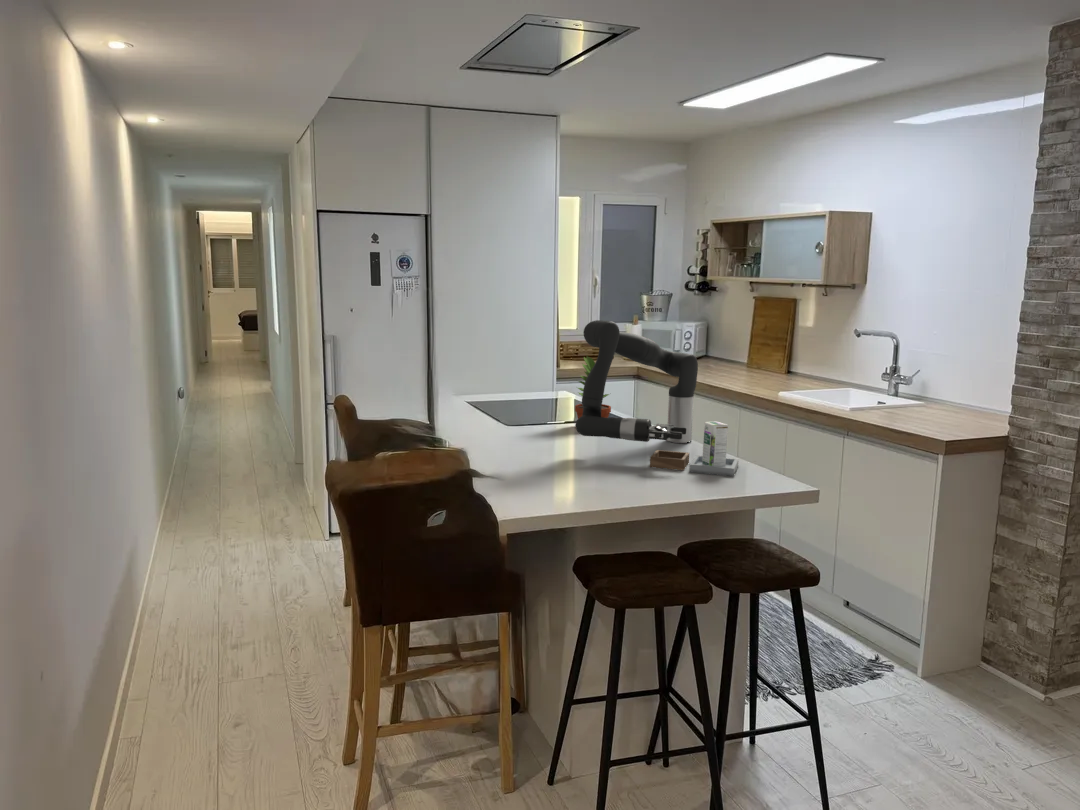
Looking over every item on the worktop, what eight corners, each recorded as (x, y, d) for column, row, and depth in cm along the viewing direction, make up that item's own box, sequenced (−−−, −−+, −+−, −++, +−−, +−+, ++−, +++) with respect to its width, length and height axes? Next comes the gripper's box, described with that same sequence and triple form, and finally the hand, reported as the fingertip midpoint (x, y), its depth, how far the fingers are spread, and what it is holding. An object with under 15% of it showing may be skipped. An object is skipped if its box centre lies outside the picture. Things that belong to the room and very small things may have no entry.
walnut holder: (656, 459, 276) (656, 449, 275) (688, 462, 272) (689, 452, 272) (649, 467, 266) (650, 456, 265) (683, 470, 262) (684, 459, 261)
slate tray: (695, 462, 273) (696, 455, 273) (738, 466, 269) (738, 458, 268) (689, 472, 260) (689, 464, 260) (733, 476, 256) (734, 468, 255)
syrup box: (701, 465, 266) (703, 421, 263) (716, 463, 268) (719, 420, 266) (710, 469, 261) (712, 425, 258) (726, 468, 263) (728, 424, 260)
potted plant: (616, 426, 332) (618, 353, 327) (601, 433, 319) (604, 356, 313) (583, 422, 339) (585, 351, 333) (567, 429, 325) (569, 354, 320)
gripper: (631, 422, 264) (681, 426, 258) (640, 414, 277) (688, 418, 272) (630, 444, 265) (680, 449, 260) (639, 436, 278) (687, 440, 273)
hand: (684, 433), depth 266 cm, fingers open, 8 cm apart
